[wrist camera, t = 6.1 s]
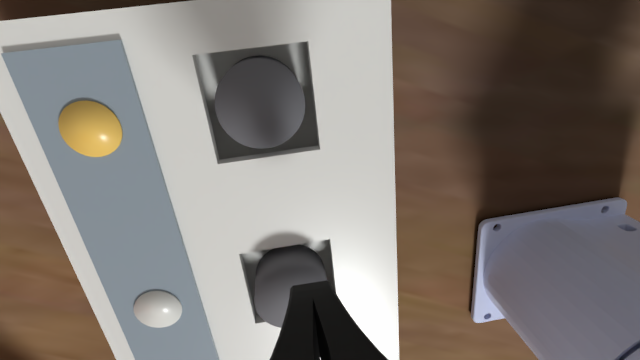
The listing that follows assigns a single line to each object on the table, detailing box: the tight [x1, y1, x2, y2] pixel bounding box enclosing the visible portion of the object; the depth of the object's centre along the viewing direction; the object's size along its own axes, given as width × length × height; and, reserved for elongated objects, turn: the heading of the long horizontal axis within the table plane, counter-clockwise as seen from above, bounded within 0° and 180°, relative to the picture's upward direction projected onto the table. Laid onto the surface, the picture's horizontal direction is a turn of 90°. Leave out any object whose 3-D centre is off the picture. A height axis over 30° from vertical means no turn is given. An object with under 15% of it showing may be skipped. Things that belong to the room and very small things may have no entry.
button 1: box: [215, 55, 305, 149], centre depth 15 cm, size 4×4×2 cm
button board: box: [0, 0, 399, 360], centre depth 19 cm, size 15×26×3 cm, turn 6°
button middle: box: [254, 244, 327, 328], centre depth 18 cm, size 4×4×2 cm
